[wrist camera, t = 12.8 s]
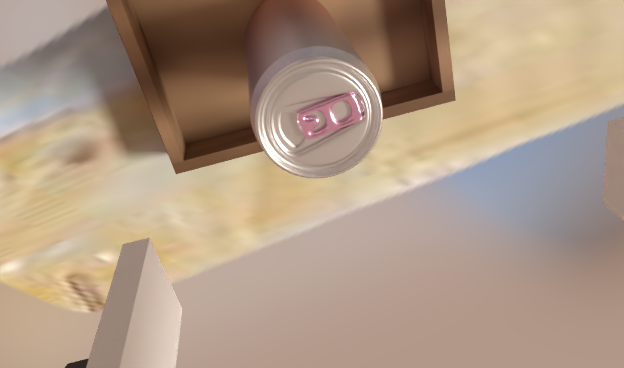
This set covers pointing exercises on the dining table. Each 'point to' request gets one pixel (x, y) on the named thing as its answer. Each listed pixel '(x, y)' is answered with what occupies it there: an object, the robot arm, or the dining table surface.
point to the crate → (233, 66)
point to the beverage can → (309, 90)
